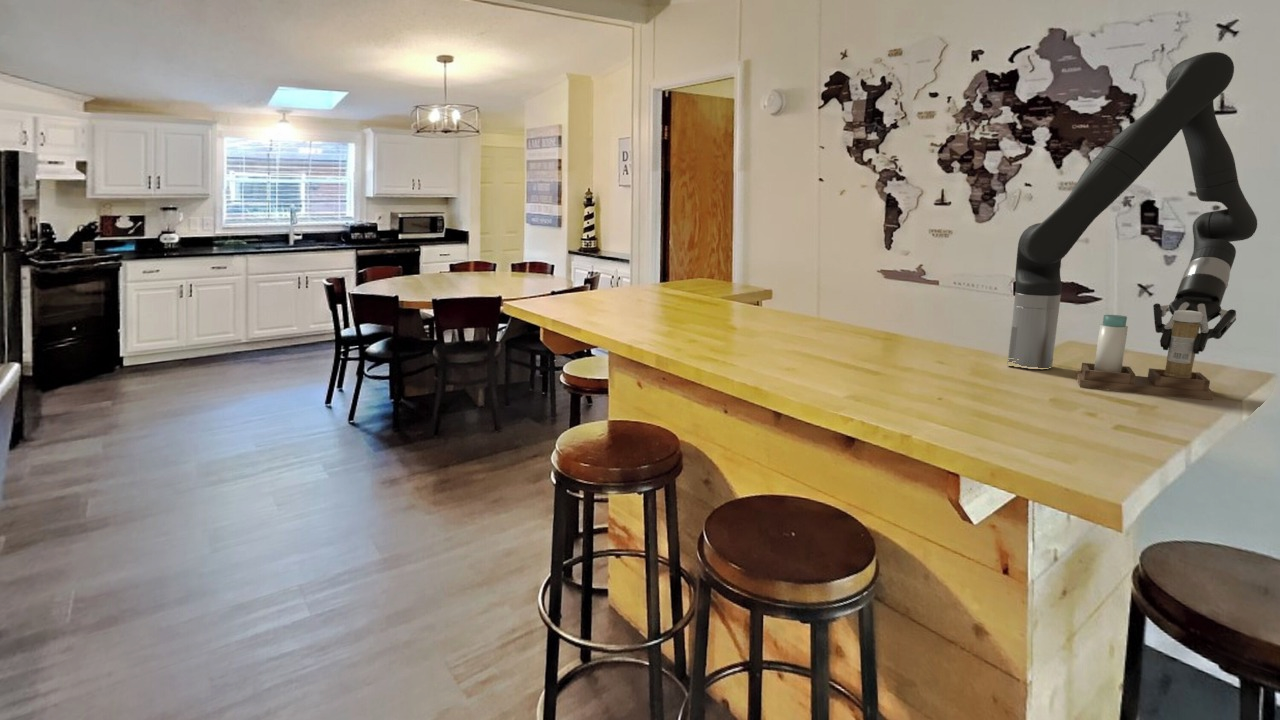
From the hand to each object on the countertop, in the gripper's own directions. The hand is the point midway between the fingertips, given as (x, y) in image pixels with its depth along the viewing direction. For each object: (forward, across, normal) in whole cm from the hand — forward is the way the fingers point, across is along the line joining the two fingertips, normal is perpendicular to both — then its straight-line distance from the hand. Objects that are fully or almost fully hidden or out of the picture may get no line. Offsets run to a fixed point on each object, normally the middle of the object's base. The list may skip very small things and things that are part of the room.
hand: (1180, 349), depth 140 cm
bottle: (+7, -11, +4) cm, 14 cm away
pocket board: (+6, -6, +6) cm, 11 cm away
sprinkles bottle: (+3, 0, +6) cm, 7 cm away
